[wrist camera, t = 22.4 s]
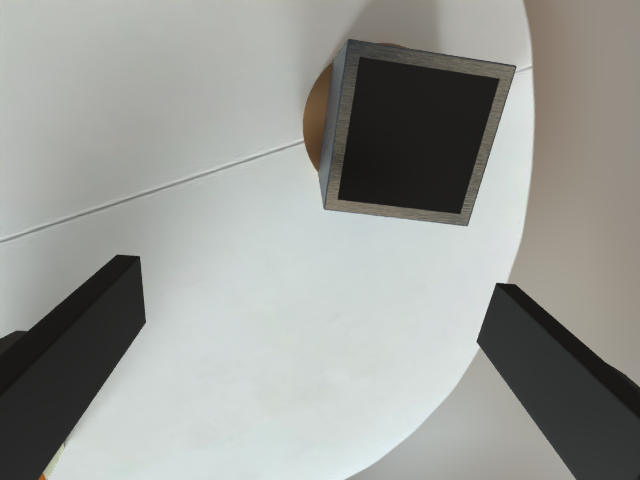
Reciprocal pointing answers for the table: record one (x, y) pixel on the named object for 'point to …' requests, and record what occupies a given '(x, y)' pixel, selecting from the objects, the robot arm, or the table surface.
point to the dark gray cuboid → (409, 131)
